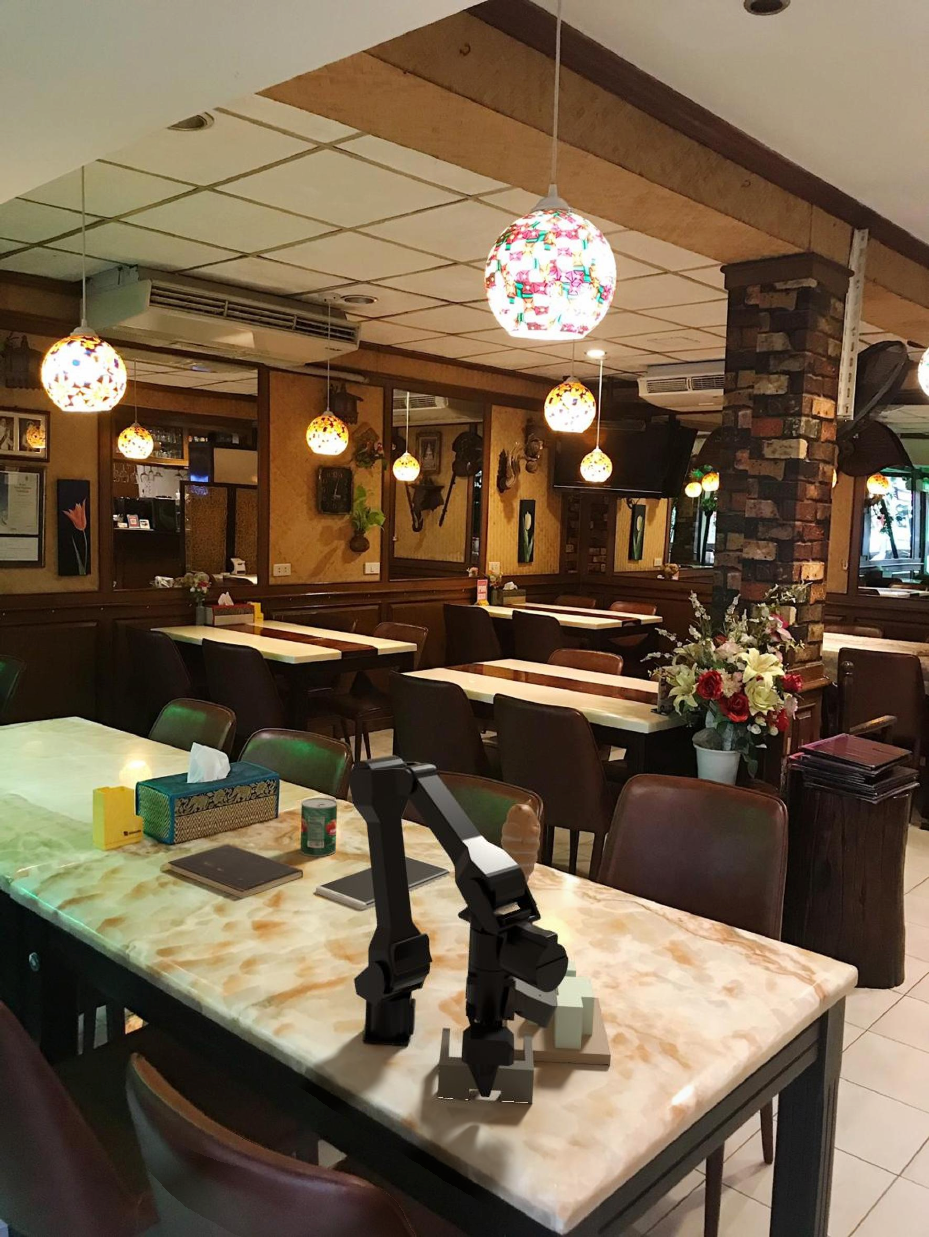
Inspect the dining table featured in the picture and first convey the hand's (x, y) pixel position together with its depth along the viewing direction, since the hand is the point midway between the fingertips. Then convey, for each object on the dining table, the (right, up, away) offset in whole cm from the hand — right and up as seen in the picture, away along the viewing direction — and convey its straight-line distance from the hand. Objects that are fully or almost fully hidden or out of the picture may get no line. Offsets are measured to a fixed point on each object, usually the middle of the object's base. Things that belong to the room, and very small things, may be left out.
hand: (485, 1079), depth 121 cm
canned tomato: (-35, +7, +90) cm, 97 cm away
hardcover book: (-50, +6, +74) cm, 90 cm away
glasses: (0, -2, +4) cm, 4 cm away
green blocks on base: (+10, -1, +17) cm, 20 cm away
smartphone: (-19, +4, +73) cm, 75 cm away
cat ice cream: (+8, +4, +73) cm, 73 cm away
